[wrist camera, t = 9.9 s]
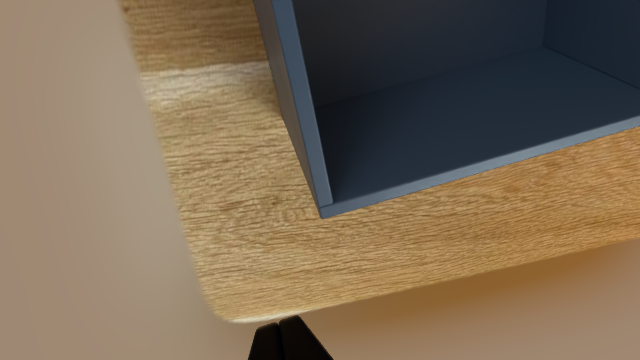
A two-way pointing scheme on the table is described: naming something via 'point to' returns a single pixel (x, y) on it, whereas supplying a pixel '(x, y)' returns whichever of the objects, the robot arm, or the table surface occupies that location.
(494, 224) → the table surface
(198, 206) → the table surface
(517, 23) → the carton
